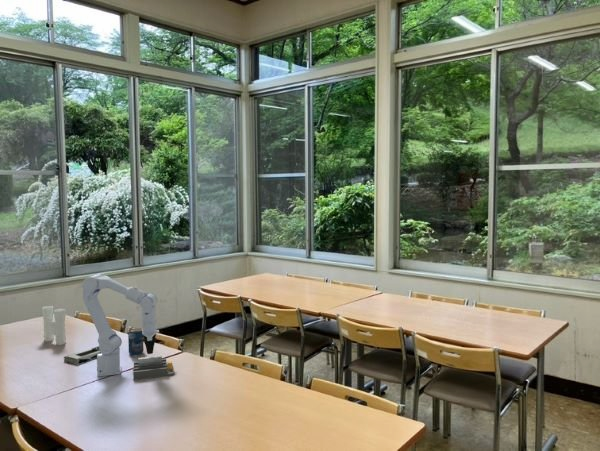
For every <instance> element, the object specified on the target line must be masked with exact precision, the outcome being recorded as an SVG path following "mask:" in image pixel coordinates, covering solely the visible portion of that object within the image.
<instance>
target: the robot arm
mask: <svg viewBox="0 0 600 451" xmlns="http://www.w3.org/2000/svg"><path fill="white" fill-rule="evenodd" d="M81 288H82V300H83V302H84V304H85V307H86V309H87V311H88V313H89V315H90V318H91V320H92V322H93V325H94V328H95V329H96V331H97V333H98V337H97V342H98V346H99V350H100V352H101V353H100V354H97V358H96V371H97V374H96V375H97V377H106V376H107V377H108V376H113V375H120V374H122V366H121V359H120V358H121V356H120V353H121V352H120V350H119V348H120V347H121V346H122V344H123V342H122V341H123V340H122V338H121V337H120V335H118V333H117V331H115V330H114V329H112V328H111V325H110V323H109V321H108V318H107V316H106V315H105V312H104V310H103V308H102V305H101V304H100V301H99V299H98V295H99V293H100V292H101V290H103V289H109V290H112V291H114V292H117V293H119V294H122V295H124V297H125V299H127V300H128V301H131V302H133V303H135V304H136V305H137V304H138V305H139V306H140V308H141V310H142V311H141V312H142V313H141V314H142V315H141V316H142V321H141V322H142V334H143V344H144V345H145V349H146V350H145V351H146V354H147V355H152V354H153V353H154V348H155V343H156V341H157V334H159V333H160V330H159V329H157V312H156V310H157V308H156V304H157V303H158V296H156V294H155V293H154V292H150V293H148V291H143V290H142V289H139V287H138V286H126V285H124V284H123V283H121V282H118V281H117V280H115V279H112V278H111V277H109V276H108V275H105V274H103V273H96V274H95V275H91V276H87V277H86V278H84V280H83V282H82V284H81Z"/></svg>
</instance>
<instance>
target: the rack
mask: <svg viewBox="0 0 600 451" xmlns="http://www.w3.org/2000/svg"><path fill="white" fill-rule="evenodd" d="M132 375H133V381H137V380H145V379H147V380H148V379H154V378H155V379H156V378H162V377H163V378H164V377H169V376H174V375H175V374H174V367H173V360H167V358H162V365H157V366H148V367H138V361H134V362H133V371H132Z"/></svg>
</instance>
